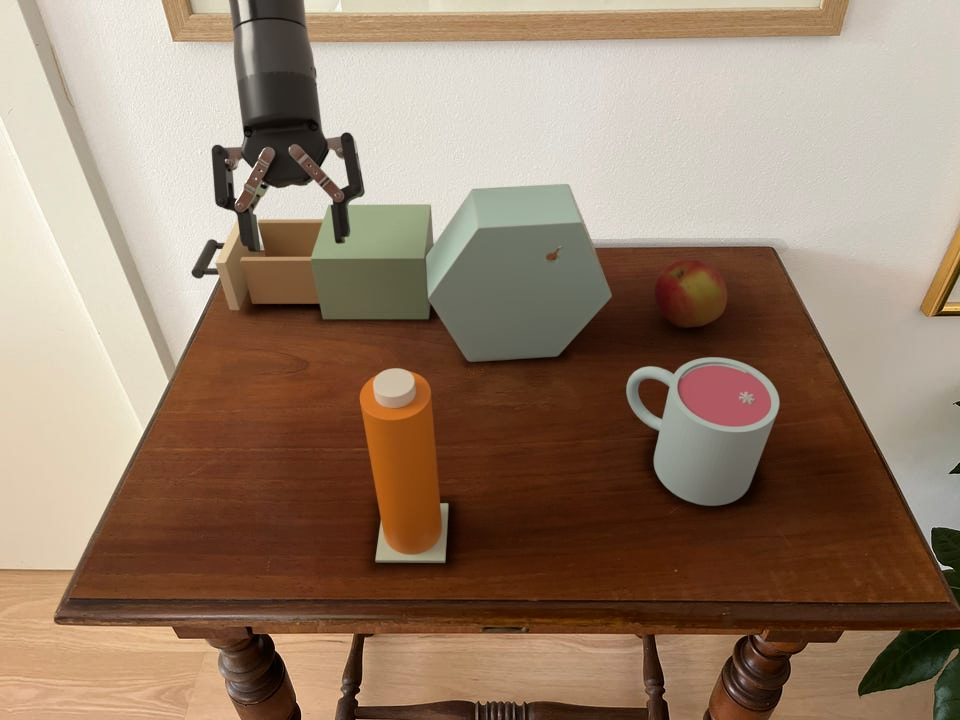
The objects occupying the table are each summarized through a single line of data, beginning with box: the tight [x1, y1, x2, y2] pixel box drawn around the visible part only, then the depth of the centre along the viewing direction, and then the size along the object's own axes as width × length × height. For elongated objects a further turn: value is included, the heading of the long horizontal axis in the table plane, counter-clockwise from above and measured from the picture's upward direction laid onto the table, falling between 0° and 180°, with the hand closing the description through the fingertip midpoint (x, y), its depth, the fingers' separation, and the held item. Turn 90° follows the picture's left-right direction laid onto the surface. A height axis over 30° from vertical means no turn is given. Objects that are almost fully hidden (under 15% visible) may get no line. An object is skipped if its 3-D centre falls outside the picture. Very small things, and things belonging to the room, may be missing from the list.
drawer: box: [190, 217, 324, 311], centre depth 89 cm, size 16×11×7 cm
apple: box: [653, 259, 728, 329], centre depth 83 cm, size 8×8×8 cm
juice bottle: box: [359, 367, 442, 554], centre depth 58 cm, size 5×5×18 cm
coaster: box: [375, 502, 449, 564], centre depth 64 cm, size 6×6×1 cm
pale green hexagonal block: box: [426, 183, 613, 363], centre depth 78 cm, size 17×8×21 cm
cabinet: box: [311, 203, 435, 320], centre depth 88 cm, size 13×12×9 cm
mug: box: [625, 356, 780, 507], centre depth 68 cm, size 14×9×10 cm
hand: (297, 247), depth 72 cm, fingers open, 8 cm apart
